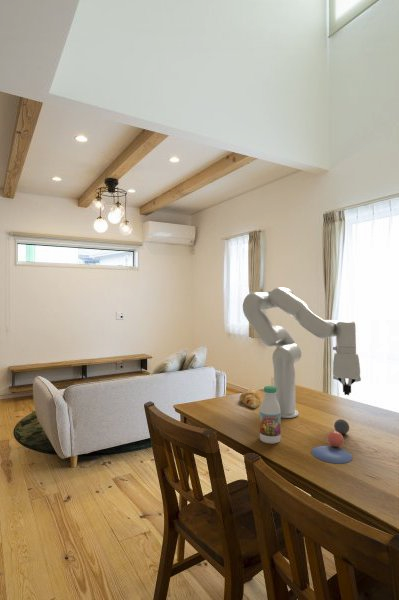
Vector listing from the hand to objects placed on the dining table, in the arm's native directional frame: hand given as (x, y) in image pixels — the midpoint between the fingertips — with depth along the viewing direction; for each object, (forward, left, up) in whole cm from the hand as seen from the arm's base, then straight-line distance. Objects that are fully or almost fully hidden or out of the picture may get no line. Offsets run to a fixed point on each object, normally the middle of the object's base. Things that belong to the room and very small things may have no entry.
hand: (347, 394), depth 145 cm
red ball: (-7, -22, -11) cm, 26 cm away
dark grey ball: (-3, -9, -11) cm, 14 cm away
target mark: (-9, -30, -14) cm, 34 cm away
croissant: (-44, +21, -14) cm, 50 cm away
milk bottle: (-30, -23, -14) cm, 40 cm away
